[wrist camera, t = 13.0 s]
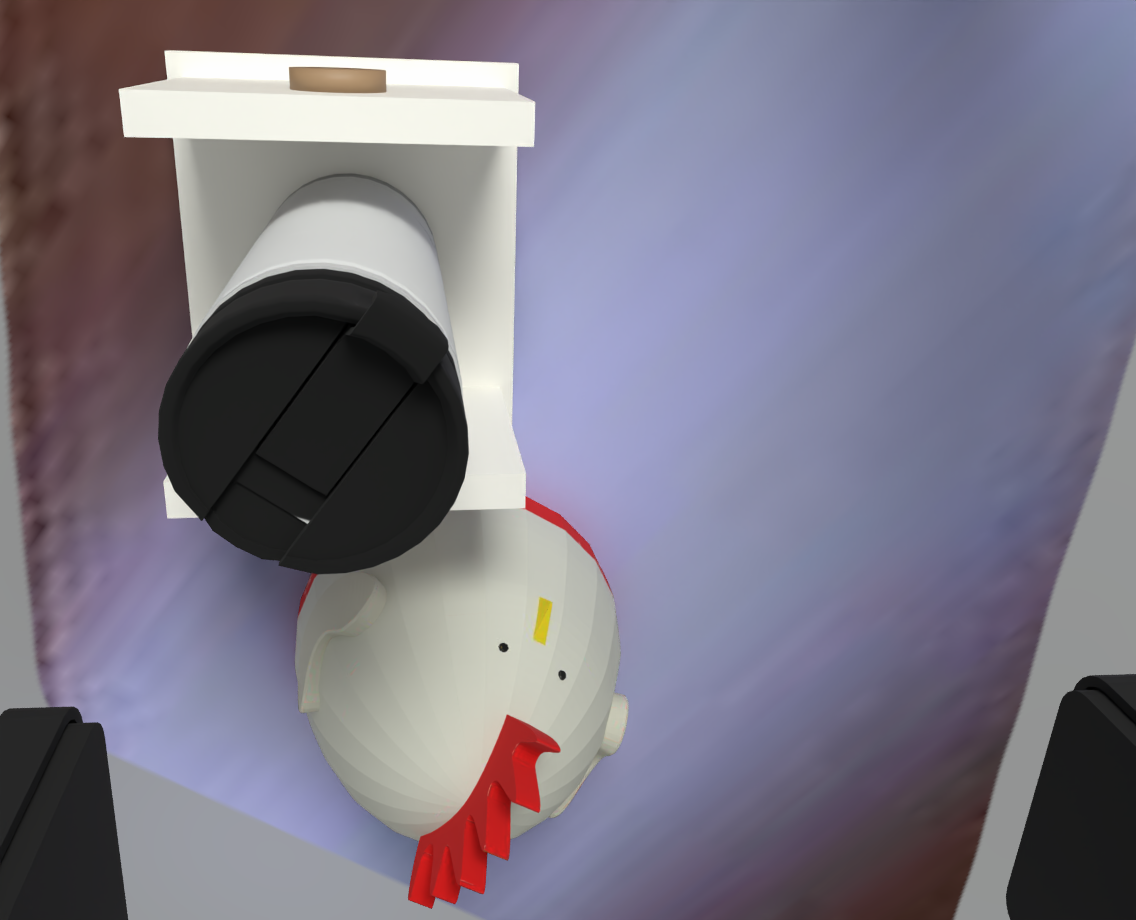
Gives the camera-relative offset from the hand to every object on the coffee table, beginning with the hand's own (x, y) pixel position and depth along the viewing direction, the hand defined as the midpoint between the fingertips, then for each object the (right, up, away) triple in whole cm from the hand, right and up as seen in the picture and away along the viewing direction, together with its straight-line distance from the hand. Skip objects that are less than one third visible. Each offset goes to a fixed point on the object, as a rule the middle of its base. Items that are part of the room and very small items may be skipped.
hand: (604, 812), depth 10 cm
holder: (-8, +11, +30) cm, 33 cm away
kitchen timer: (-5, -4, +37) cm, 38 cm away
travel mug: (-8, +11, +29) cm, 32 cm away
